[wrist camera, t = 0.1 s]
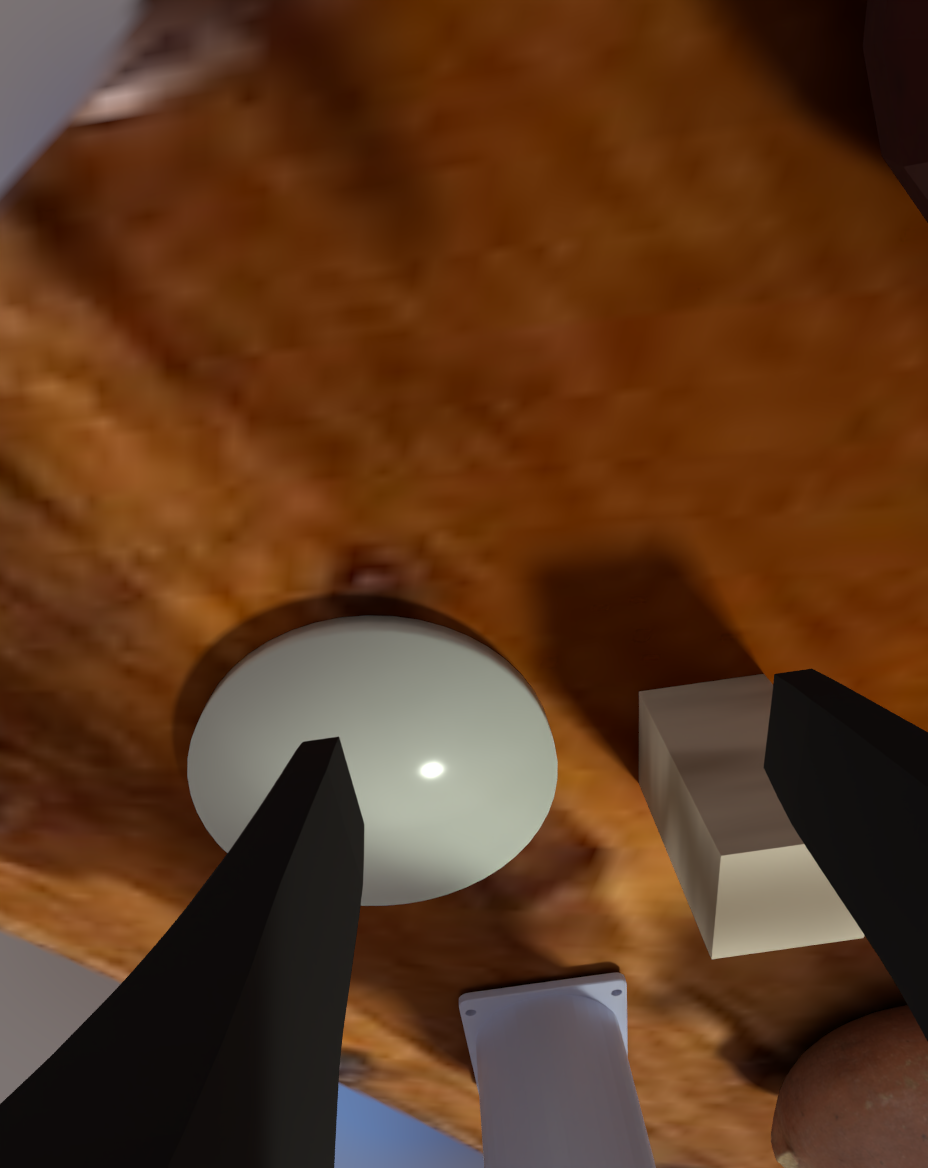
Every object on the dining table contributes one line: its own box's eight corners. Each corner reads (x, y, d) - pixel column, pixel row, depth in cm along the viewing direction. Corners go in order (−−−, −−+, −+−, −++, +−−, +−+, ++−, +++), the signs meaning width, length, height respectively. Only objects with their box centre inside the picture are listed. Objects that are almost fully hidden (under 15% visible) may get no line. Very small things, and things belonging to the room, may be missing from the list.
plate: (561, 860, 27) (566, 881, 26) (254, 903, 27) (248, 925, 26) (539, 589, 21) (545, 604, 20) (141, 645, 21) (129, 663, 20)
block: (752, 766, 25) (863, 937, 19) (638, 783, 25) (711, 959, 19) (763, 673, 23) (892, 831, 17) (639, 691, 23) (721, 855, 17)
